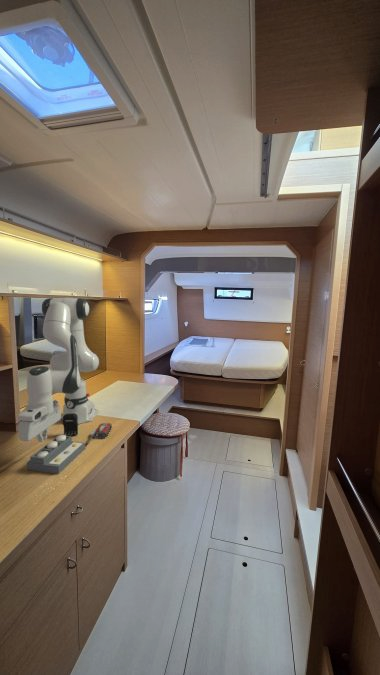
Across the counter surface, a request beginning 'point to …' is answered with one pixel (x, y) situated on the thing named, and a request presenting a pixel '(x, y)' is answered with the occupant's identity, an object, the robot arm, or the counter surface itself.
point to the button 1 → (42, 454)
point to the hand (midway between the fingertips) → (42, 440)
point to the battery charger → (70, 424)
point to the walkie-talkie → (100, 431)
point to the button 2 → (61, 438)
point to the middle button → (52, 445)
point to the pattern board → (56, 456)
